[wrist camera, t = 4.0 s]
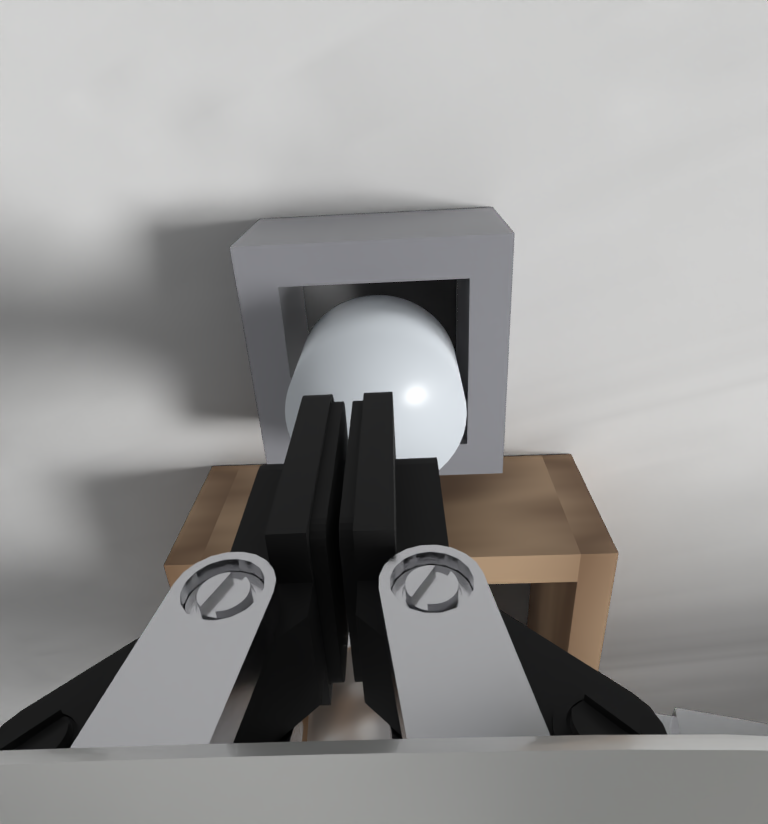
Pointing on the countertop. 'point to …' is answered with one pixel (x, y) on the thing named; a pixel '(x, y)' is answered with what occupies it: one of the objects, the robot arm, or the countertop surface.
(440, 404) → the white domed push button
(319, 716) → the plastic bottle
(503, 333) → the button housing
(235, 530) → the walnut bottle rack
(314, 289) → the countertop surface
